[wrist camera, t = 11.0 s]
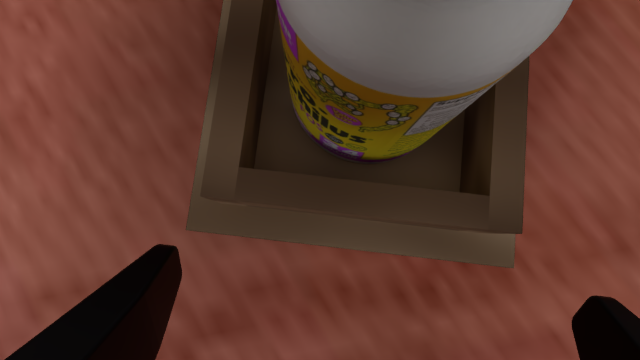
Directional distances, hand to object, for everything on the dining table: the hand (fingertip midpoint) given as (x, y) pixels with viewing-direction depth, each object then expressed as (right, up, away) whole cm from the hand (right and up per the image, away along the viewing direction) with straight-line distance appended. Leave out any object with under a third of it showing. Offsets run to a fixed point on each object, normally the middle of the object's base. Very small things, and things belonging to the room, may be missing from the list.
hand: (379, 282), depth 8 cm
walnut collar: (+1, +6, +10) cm, 11 cm away
